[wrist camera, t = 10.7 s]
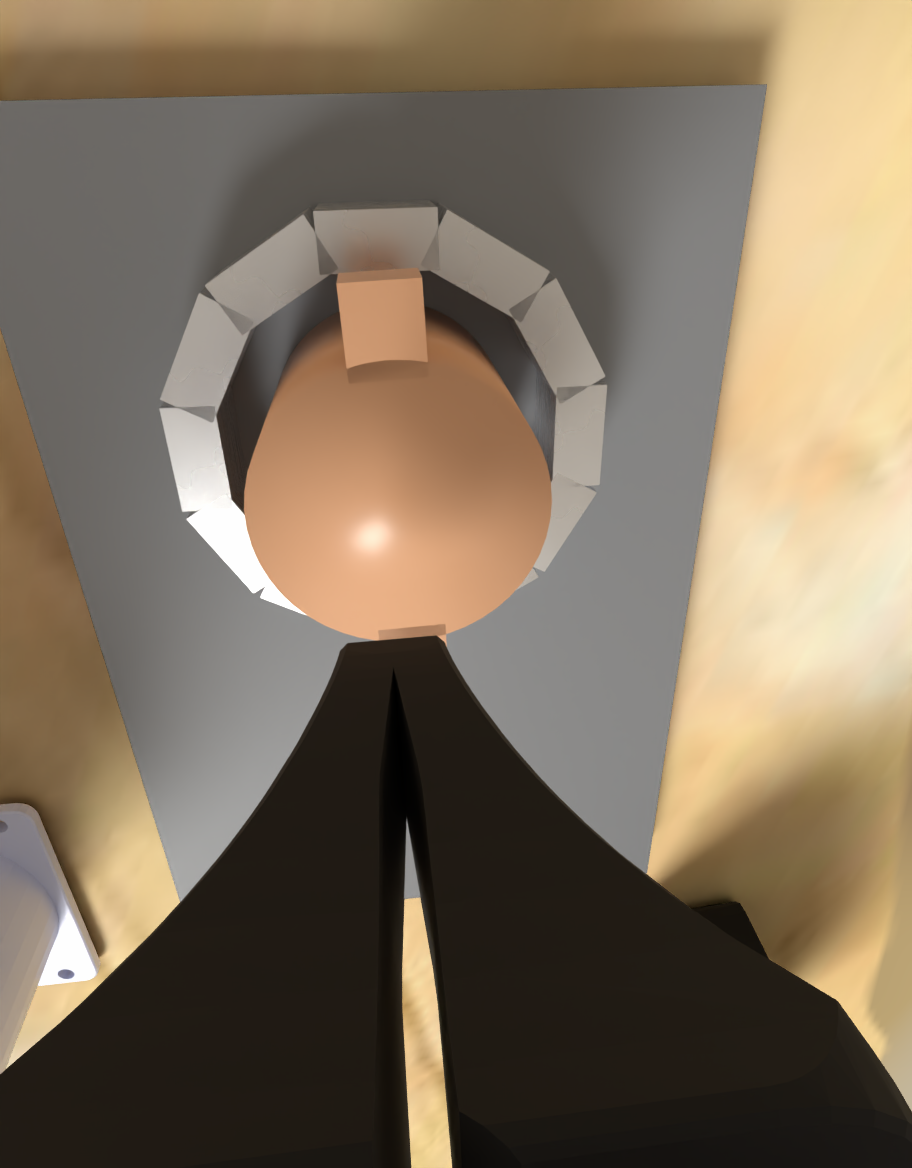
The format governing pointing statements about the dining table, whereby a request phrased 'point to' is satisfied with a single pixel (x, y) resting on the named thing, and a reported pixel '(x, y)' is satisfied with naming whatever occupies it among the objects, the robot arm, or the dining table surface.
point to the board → (230, 229)
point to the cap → (395, 471)
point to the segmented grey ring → (353, 244)
